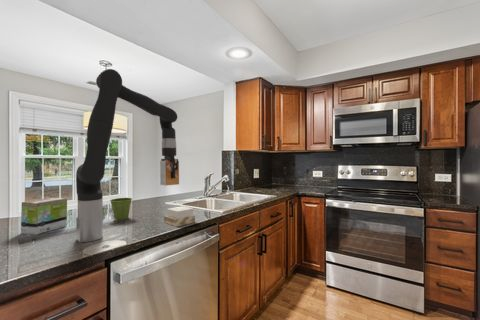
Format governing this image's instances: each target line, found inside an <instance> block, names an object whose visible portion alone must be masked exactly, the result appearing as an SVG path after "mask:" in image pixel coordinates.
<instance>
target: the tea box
mask: <svg viewBox="0 0 480 320" xmlns="http://www.w3.org/2000/svg"><path fill="white" fill-rule="evenodd" d="M20 210H21V211H20V212H21V217H20V233H21V234H25V235H40V234H43V233H46V232H49V231H54V230H57V229H60V228H65V227H66V226H67V225H68V224H67V223H68V215H67V214H68V198H66V197H65V198H64V197H47V198H42V199H40V198H39V199H34V200H30V201H28V200H27V201H23V202H21V209H20Z"/></svg>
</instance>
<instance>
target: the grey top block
mask: <svg viewBox="0 0 480 320" xmlns="http://www.w3.org/2000/svg"><path fill="white" fill-rule="evenodd" d="M166 214H167V215H166V216H169V217H172V218H176V219H181V218H185V217H190V216H194V207H188V206H185V205H183V206H182V205H181V206H177V207H169V208H167V213H166Z"/></svg>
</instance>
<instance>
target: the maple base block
mask: <svg viewBox="0 0 480 320" xmlns="http://www.w3.org/2000/svg"><path fill="white" fill-rule="evenodd" d="M195 222H196V215H193V216H190V217H185V218H181V219H176V218H172V217H169V216H167V215H164V216H163V223H165V224H168V225H170V226H173V227H175V228H176V227H179V226H185V225H189V224H192V223H193V224H194V223H195Z"/></svg>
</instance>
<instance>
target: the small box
mask: <svg viewBox="0 0 480 320" xmlns="http://www.w3.org/2000/svg"><path fill="white" fill-rule="evenodd" d="M170 165H173V162H172V163H171V161H161V160H160V161H159V168H160V169H159V173H160V175H159V177H160V185H161V186H177V185H180V161H179V160H178V170H176V171H175V178H173V179H172V178H171V172H172V171H171V169H170ZM175 168H176V166H175ZM172 169H173V167H172Z"/></svg>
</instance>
